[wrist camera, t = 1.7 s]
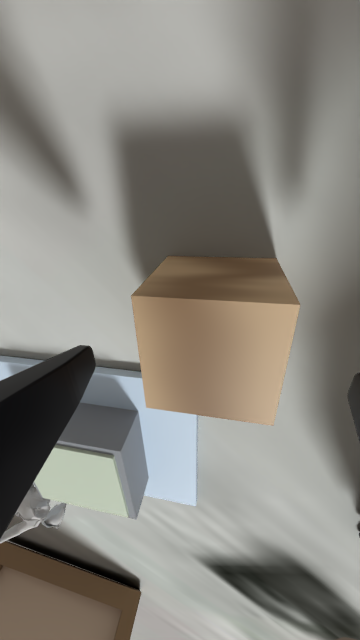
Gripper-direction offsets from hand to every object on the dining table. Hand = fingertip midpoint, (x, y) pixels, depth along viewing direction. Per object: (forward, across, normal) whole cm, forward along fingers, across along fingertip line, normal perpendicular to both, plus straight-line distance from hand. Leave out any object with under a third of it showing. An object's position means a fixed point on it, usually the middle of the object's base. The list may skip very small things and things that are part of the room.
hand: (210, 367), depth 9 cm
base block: (+5, +9, +12) cm, 16 cm away
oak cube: (+5, 0, 0) cm, 5 cm away
